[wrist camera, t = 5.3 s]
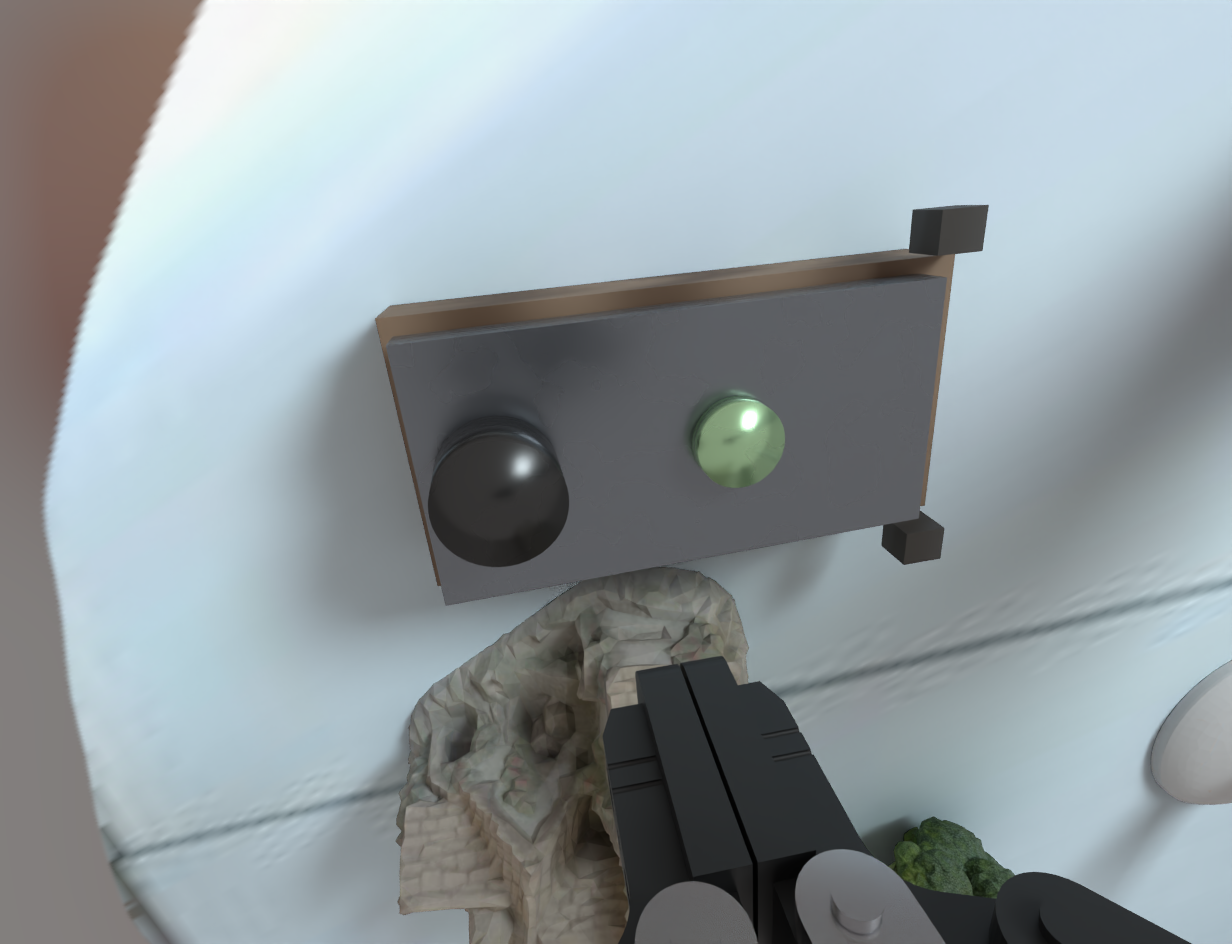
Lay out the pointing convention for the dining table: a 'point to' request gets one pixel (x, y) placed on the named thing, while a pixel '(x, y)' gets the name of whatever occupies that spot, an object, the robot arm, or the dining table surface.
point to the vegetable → (948, 860)
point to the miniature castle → (545, 758)
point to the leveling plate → (668, 430)
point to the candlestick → (1198, 743)
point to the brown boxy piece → (928, 253)
